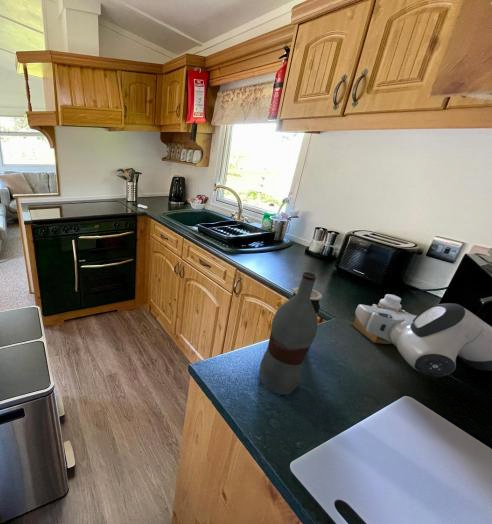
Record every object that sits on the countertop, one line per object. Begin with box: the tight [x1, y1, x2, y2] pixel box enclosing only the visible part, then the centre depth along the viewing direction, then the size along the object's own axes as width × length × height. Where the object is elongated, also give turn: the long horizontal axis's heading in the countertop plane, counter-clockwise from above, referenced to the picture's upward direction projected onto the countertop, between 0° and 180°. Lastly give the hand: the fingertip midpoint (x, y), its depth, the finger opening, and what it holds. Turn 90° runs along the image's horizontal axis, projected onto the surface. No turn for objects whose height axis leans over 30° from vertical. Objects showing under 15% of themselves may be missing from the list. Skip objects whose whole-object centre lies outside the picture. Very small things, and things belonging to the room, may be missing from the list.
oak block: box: [352, 316, 394, 345], centre depth 96 cm, size 10×10×4 cm
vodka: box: [258, 271, 318, 396], centre depth 67 cm, size 9×9×30 cm
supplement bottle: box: [377, 293, 402, 312], centre depth 94 cm, size 6×6×10 cm
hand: (386, 308), depth 94 cm, fingers closed on supplement bottle, 5 cm apart
